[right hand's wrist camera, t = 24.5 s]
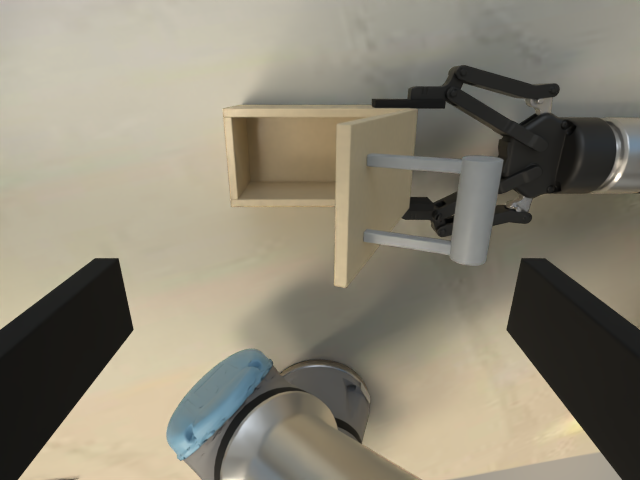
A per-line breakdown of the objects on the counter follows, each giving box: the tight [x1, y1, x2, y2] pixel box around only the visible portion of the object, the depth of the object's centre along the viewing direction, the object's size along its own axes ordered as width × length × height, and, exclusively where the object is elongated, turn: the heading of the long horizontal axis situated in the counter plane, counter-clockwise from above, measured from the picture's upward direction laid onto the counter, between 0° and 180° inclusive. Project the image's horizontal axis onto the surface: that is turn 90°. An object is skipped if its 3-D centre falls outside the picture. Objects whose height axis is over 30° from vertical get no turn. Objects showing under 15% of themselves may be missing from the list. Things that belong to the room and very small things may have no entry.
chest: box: [223, 105, 412, 207], centre depth 41 cm, size 17×9×9 cm, turn 90°
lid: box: [334, 109, 503, 288], centre depth 27 cm, size 18×9×8 cm
